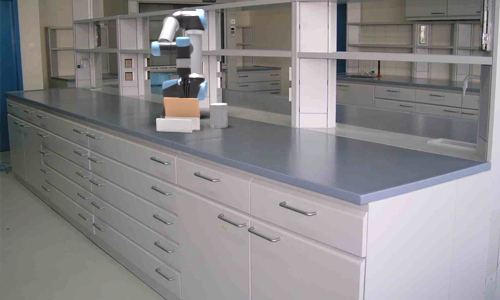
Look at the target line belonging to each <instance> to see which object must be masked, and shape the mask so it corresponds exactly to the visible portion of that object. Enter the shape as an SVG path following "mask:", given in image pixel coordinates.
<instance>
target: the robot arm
mask: <svg viewBox="0 0 500 300" xmlns="http://www.w3.org/2000/svg"><path fill="white" fill-rule="evenodd" d="M207 29H208V23H207V16H206V12H205V9H201V8H199V9H198V8H192V9H191V8H190V9H187V8H186V9H183V8H182V9H176V10H173V11H171V12H169V13H168V14H167V15H166V16H165V17H164V19H163V21H162V29H161V31H160V35H159V37H158V39H157V41H152V42H151V47H150V50H151V54H152V56H155V57H167V56H169V57H170V56H171V57H172V56H173V57H176V58H175V59H176V60H175V63H176V75H178V76H179V77H178V78H174V79H167V80H164V81H163V82H162V84H161V85H162V86H161V88H162V89H161V90H162V91H161V92H162V110H161V113H160V119H165V116H166V113H165V106H164V98H196V99H198V101H199V102H200V101H205V100H206V98H207V94H208V87H209V86H208V84H209V83H208V80H206V78H205V77H204V75H203V35H204V34H205V30H207ZM179 30H184V33H185V34H186V35H187V36H179V37H176V38H175V41H173V40H174V37H175V35H176V32H177V31H179Z"/></svg>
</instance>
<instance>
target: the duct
mask: <svg viewBox="0 0 500 300" xmlns="http://www.w3.org/2000/svg"><path fill="white" fill-rule="evenodd" d="M200 118H201V117H200ZM200 118H198V117H175V116H165V119H161V118H160V117H159V118H156V119H155V121H156V124H155V125H156V132H165V133H166V132H167V133H168V132H169V133H182V134H183V133H185V134H187V133H188V134H192V133H193V131H201V120H200Z"/></svg>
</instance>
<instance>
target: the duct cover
mask: <svg viewBox="0 0 500 300" xmlns="http://www.w3.org/2000/svg"><path fill="white" fill-rule="evenodd" d="M164 106H165V113H166V116H175V117H198V118H201V112H200V100H199V101H198V99H196V98H164Z"/></svg>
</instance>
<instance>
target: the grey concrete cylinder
mask: <svg viewBox="0 0 500 300" xmlns="http://www.w3.org/2000/svg"><path fill="white" fill-rule="evenodd" d="M209 120H210V121H209V126H210V127H209V128H211V127H212V129H224V128H228V127H229V126H228V125H229V124H228V122H229V121H228V103H226V102H215V103H214V102H213V103H212V102H211V103H209Z"/></svg>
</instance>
